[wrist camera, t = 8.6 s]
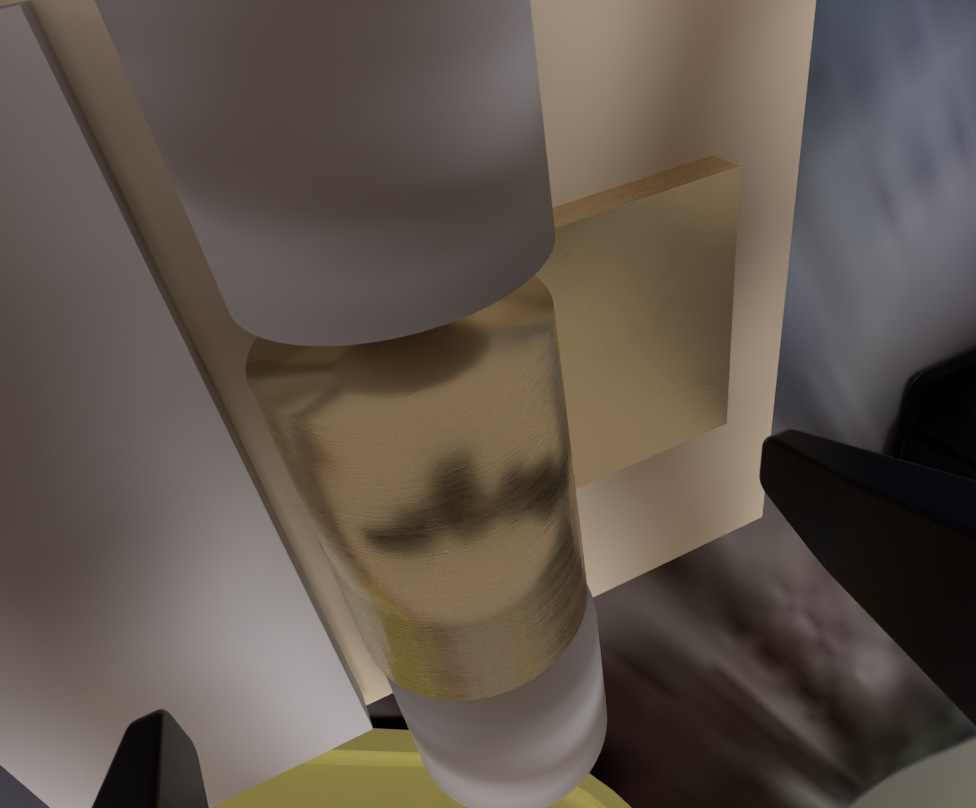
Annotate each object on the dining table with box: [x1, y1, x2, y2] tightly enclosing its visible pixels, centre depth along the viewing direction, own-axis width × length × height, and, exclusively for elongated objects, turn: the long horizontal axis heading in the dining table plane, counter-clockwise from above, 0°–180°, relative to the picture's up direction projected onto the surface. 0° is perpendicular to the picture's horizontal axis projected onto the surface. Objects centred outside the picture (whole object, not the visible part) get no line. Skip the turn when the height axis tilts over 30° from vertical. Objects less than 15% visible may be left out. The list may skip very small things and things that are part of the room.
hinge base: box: [0, 0, 816, 808], centre depth 12 cm, size 18×16×6 cm
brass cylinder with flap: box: [245, 156, 740, 701], centre depth 12 cm, size 6×9×4 cm, turn 99°
